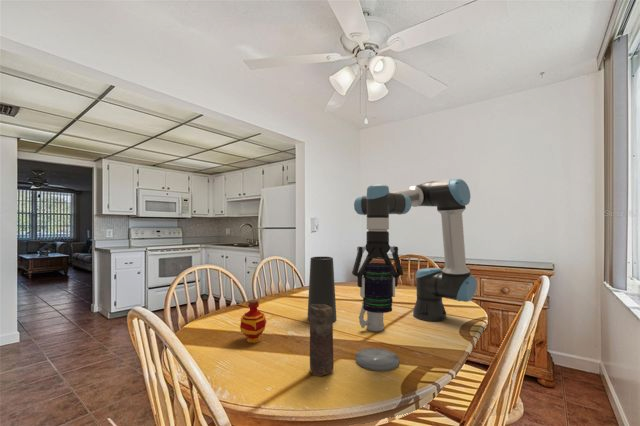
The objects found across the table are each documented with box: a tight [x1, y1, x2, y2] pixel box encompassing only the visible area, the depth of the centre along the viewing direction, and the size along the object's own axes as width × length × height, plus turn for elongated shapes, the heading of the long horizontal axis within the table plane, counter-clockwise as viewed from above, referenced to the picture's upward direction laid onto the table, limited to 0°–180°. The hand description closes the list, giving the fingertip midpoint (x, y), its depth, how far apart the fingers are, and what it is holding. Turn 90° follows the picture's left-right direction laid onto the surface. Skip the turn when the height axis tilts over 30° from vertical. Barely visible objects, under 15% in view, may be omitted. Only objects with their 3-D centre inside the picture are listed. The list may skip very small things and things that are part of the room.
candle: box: [309, 304, 335, 377], centre depth 95 cm, size 8×7×20 cm
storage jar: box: [362, 262, 393, 314], centre depth 104 cm, size 10×10×15 cm
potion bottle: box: [239, 299, 267, 343], centre depth 119 cm, size 10×10×15 cm
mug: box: [358, 301, 385, 332], centre depth 131 cm, size 8×12×12 cm, turn 115°
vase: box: [306, 256, 337, 323], centre depth 144 cm, size 14×14×29 cm
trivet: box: [355, 347, 400, 372], centre depth 101 cm, size 14×14×1 cm
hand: (377, 296), depth 104 cm, fingers closed on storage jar, 10 cm apart
